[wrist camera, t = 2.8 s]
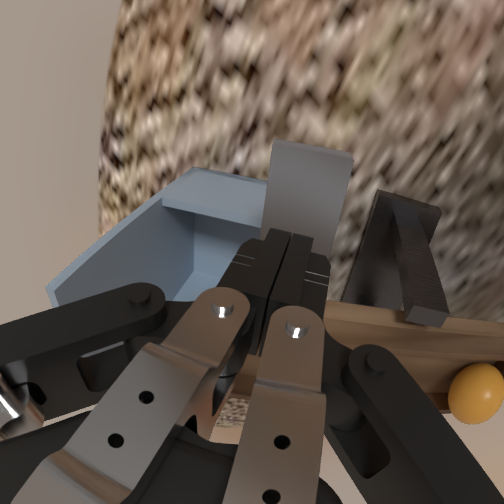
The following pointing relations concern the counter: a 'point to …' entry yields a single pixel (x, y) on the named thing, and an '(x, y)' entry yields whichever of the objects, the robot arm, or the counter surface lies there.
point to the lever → (352, 315)
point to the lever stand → (399, 261)
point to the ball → (476, 393)
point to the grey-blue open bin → (170, 240)
